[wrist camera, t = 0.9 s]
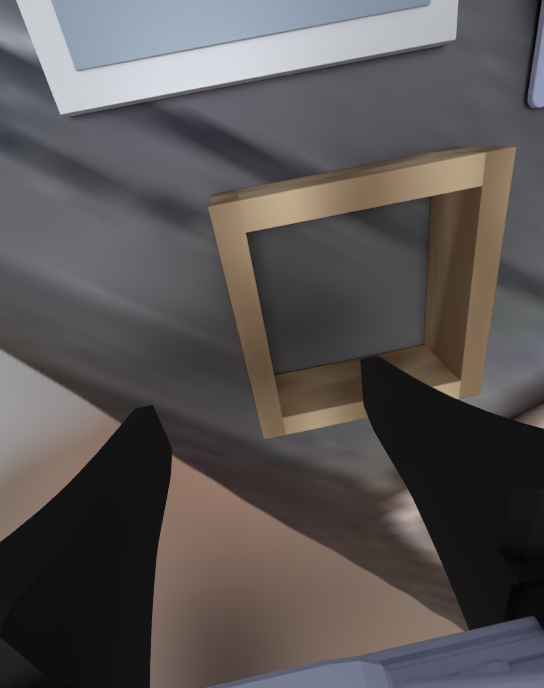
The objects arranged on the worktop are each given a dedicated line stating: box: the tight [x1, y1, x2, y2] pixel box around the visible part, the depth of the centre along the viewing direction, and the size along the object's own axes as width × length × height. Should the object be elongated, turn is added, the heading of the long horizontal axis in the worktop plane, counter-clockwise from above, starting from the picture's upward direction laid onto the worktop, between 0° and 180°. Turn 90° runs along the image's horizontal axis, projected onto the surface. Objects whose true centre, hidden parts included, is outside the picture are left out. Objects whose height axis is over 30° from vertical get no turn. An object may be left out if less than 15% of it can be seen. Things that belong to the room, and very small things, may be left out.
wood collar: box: [208, 146, 516, 439], centre depth 18 cm, size 12×12×4 cm
